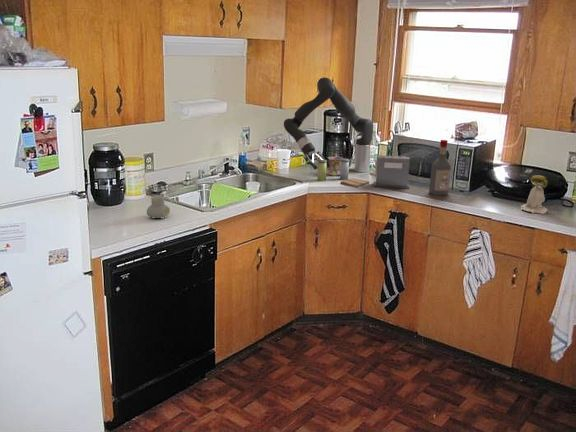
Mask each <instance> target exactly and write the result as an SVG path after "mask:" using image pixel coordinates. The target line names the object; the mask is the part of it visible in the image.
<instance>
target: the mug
mask: <svg viewBox="0 0 576 432" xmlns="http://www.w3.org/2000/svg"><path fill="white" fill-rule="evenodd" d="M341 159H344V157H342V156H329V157H328V159H326V160H327V162H328V163H329V167H328V166H326V169H328V175H330V176H333V177H338V176H339V177H340V167H341Z"/></svg>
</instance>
